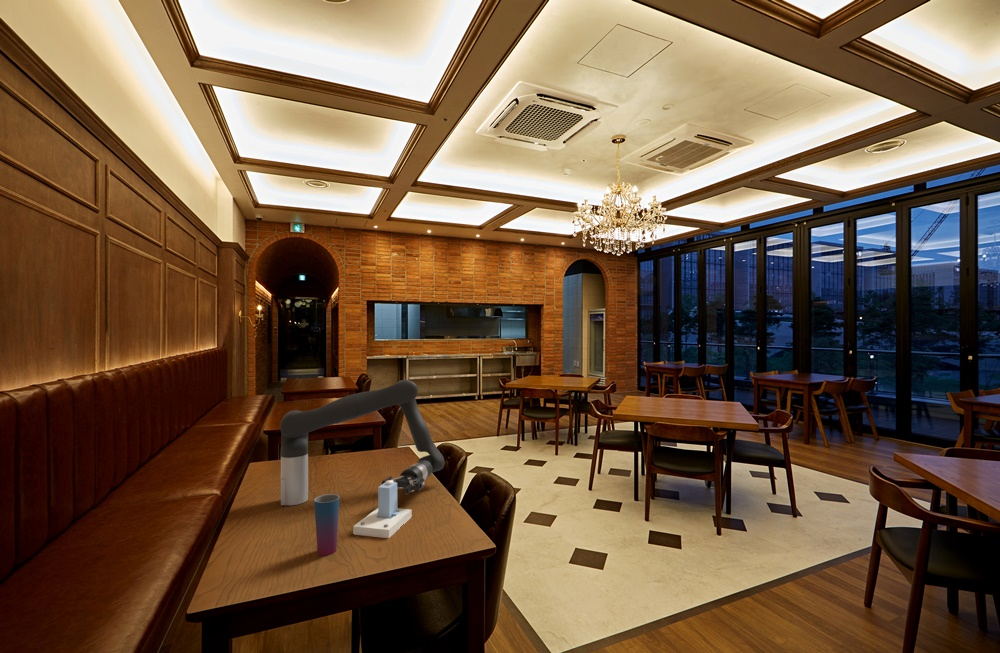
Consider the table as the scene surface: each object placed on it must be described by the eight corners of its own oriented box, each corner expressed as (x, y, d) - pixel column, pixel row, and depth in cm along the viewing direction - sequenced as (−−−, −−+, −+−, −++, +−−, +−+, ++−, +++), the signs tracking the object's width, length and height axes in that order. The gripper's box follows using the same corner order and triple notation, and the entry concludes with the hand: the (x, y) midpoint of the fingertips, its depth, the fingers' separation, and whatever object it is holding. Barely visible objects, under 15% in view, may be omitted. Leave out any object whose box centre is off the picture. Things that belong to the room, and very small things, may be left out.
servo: (393, 526, 143) (393, 485, 144) (374, 524, 145) (374, 484, 145) (401, 519, 149) (400, 480, 149) (383, 517, 150) (382, 479, 150)
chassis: (388, 538, 135) (388, 528, 135) (353, 534, 137) (353, 524, 138) (411, 517, 150) (411, 508, 150) (379, 514, 153) (379, 505, 153)
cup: (324, 559, 122) (324, 504, 123) (308, 553, 126) (308, 499, 126) (344, 549, 128) (344, 496, 128) (329, 543, 132) (329, 492, 132)
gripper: (396, 464, 168) (374, 478, 153) (431, 466, 165) (413, 480, 149) (396, 484, 168) (374, 500, 152) (432, 487, 165) (413, 503, 149)
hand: (393, 490), depth 151 cm, fingers open, 8 cm apart
